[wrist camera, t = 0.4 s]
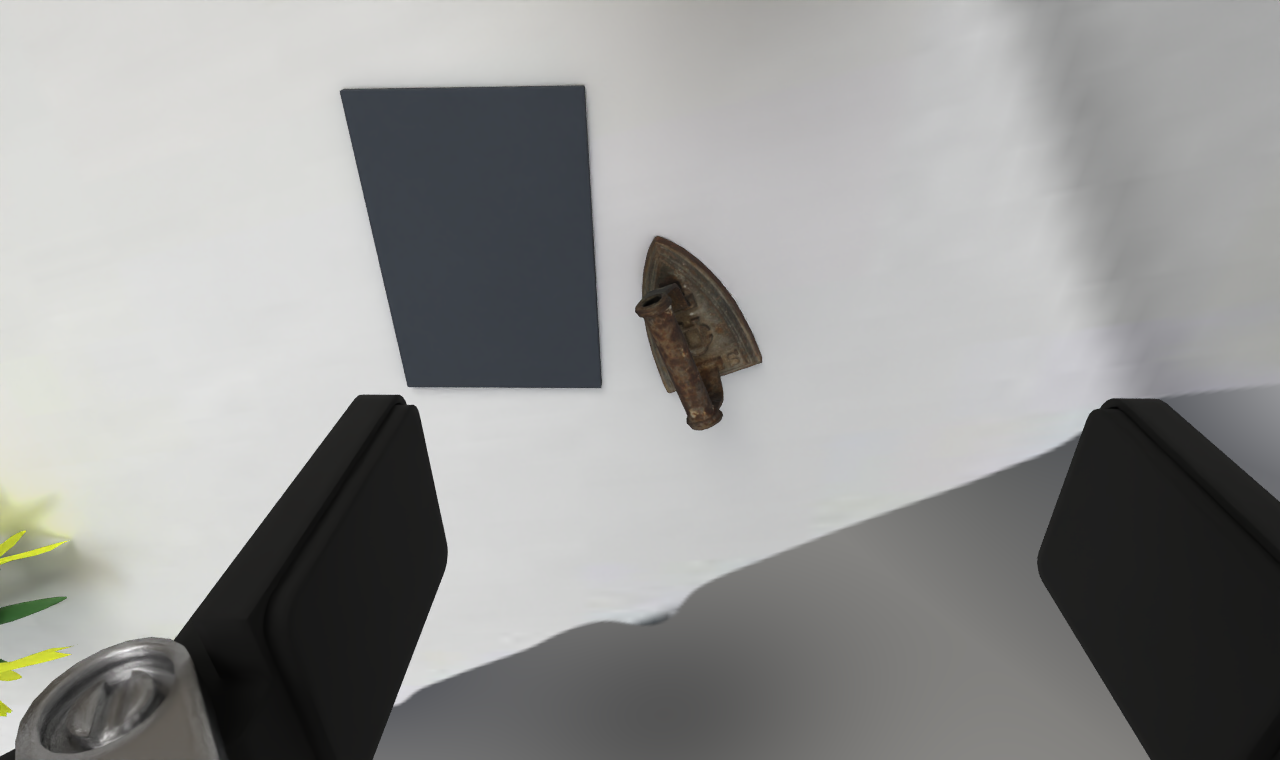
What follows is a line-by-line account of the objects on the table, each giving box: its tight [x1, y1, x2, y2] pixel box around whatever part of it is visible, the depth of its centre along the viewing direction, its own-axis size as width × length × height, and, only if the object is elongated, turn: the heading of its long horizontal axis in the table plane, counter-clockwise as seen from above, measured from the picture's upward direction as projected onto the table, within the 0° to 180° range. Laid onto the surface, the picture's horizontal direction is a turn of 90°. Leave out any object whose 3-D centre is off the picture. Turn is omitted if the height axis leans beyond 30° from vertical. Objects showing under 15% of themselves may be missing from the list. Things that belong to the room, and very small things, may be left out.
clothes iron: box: [635, 236, 762, 430], centre depth 44 cm, size 7×11×10 cm, turn 24°
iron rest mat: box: [340, 86, 602, 388], centre depth 45 cm, size 20×14×1 cm
